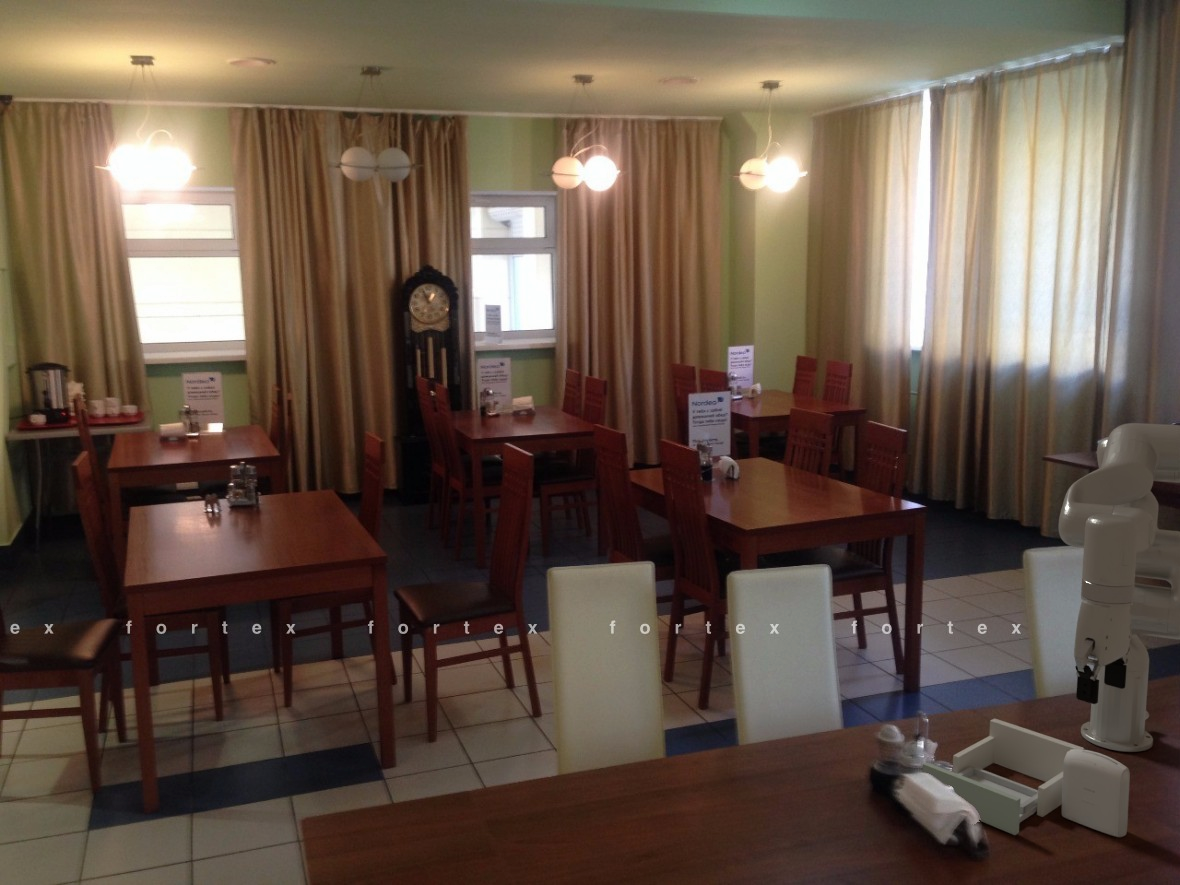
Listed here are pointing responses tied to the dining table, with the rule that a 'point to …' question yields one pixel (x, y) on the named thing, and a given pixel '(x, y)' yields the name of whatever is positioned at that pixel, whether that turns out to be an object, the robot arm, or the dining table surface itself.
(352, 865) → the dining table surface
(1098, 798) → the photo printer
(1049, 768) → the dock
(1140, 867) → the dining table surface
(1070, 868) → the dining table surface
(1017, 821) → the tray
